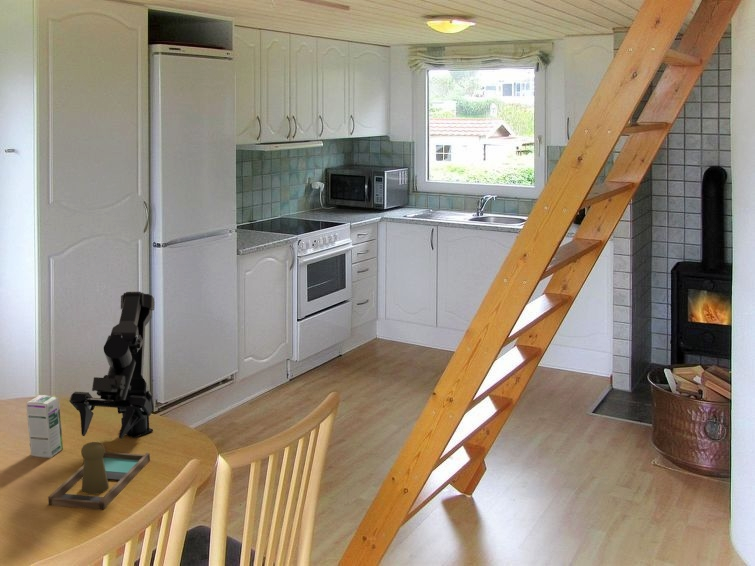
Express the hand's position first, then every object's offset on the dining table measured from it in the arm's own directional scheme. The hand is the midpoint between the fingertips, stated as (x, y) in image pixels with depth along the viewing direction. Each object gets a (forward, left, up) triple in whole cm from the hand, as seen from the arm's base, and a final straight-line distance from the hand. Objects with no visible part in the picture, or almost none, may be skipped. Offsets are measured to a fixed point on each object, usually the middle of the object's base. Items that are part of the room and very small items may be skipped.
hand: (101, 436), depth 211 cm
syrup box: (0, -24, -11) cm, 27 cm away
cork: (+4, +2, -11) cm, 12 cm away
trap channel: (+1, 0, -11) cm, 11 cm away
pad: (-7, -4, -11) cm, 13 cm away
